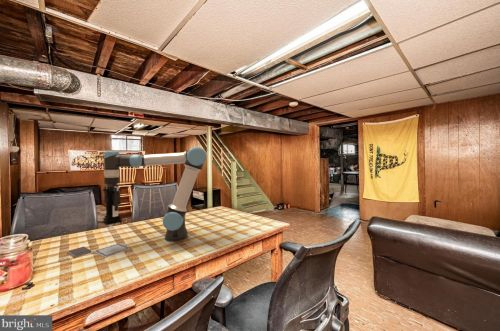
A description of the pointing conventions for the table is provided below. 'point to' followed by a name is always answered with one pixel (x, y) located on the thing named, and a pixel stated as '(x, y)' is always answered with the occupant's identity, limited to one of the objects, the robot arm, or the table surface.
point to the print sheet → (111, 250)
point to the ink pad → (79, 252)
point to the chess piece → (110, 209)
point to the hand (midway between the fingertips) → (112, 215)
